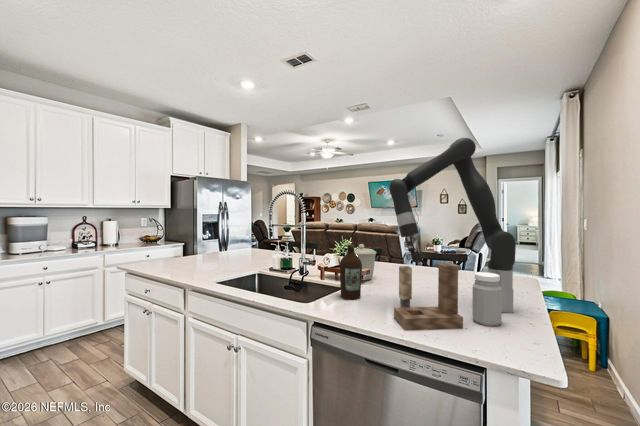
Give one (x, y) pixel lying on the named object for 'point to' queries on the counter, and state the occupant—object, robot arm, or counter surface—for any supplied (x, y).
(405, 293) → the beige wooden post
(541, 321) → the counter surface
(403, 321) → the brown wooden stand
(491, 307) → the jar
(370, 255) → the canister
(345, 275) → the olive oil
